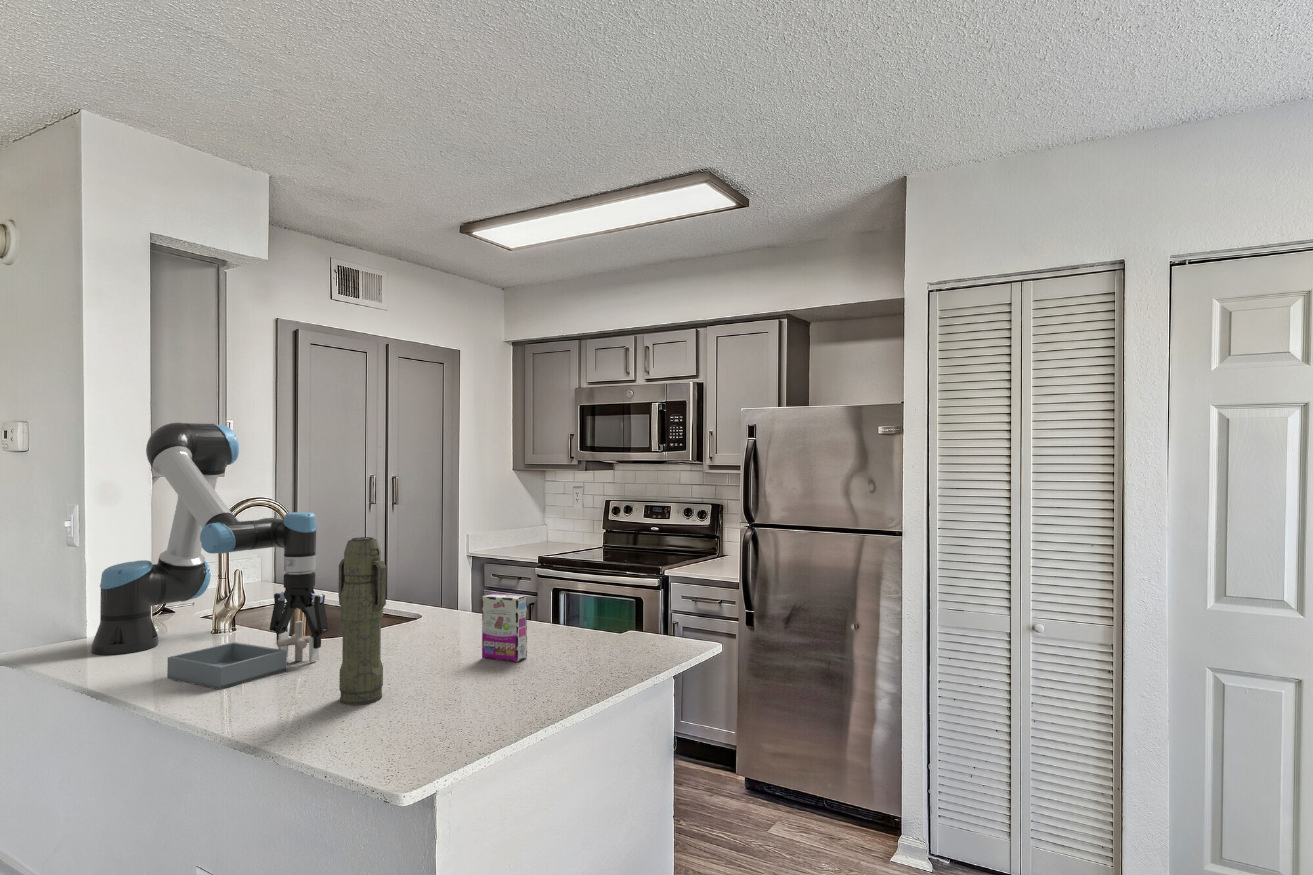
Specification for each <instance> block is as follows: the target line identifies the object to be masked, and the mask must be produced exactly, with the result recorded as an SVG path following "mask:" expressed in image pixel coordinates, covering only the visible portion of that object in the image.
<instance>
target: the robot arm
mask: <svg viewBox="0 0 1313 875" xmlns="http://www.w3.org/2000/svg"><path fill="white" fill-rule="evenodd" d="M239 445H240V443H239V440H238V438H237V434H236V433H235V432H234V430H233V429H232V428H231V427H229V426H227V425H225V424H224V425H223V424H216V423H193V422H191V423H189V422H187V423H185V422H171V423H167V424H164V425H161V426H160V427H158V428H157V429H156V430H155V431H154V432H153V433H152V434H151V435H150V436H149V438H148V441H147V444H146V449H145V453H146V457H147V461H148V463H149V465H150V466H151V468H152V469H153V471H154V472H155V473H156V474H158V475H161V476H164V477H163V478H164V479H166V481H167V482H168V483H169V485H170V486H171V488H172V489H173V490H174V492H175V493H176V494H177V501H176V505H175V511H174V513H173V514H174V515H173V520H172V524H171V528H170V529H171V530H170V533H169V539H168V542H167V543H168V544H167V547H166V550H164V551H162V552H161V553H160V554H159V556H158V559H157V560H158V561H157V563H156V564H153V563H152V561H151V560H145V559H143V560H134V561H127V562H122V563H117V564H114V565H111V566H109V567H107V568H105V569H104V570H103V571H102V573H101V578H100V584H99V588H100V611H99V612H100V619H99V625H98V627H97V630H96V632H95V635H94V637H93V641H92V644H91V653H92V652H93V653H92V654H96V655H121V654H129V653H136V652H141V651H145V650H149V649H153V648H155V647H157V646H158V645H159V635H158V632H157V630H156V628H155V624H154V621H153V619H152V607H153V606H160V605H164V604H165V605H167V604H171V603H178V602H187V601H189V600H194V599H197V598H200V597H201V596H202V595H203V594H205V592H206V591H207V589H208V587H209V586H210V583H211V572H210V571H211V568H210V565H209V564H208V562H207V561H206V558H205V556H204V554H202V550H204V551H205V552H206V553H208V554H214V555H215V554H229V553H236V552H242V551H243V552H244V551H252V550H261V549H269V548H279V549H281V548H283V556H284V557H283V571H284V572H285V573H284V574H283V588H284V591H280V592H276V593H274V594H273V600H274V602H273V603H274V605H273V608H272V614H271V620H270V624H269V631H272V632H274V633H275V634H276V641H277V640H282V639H289V635H290V634H289V632H288V629H287V628H288V626H289V624H290V622H291V619H292V616H293V614H294V612H295V610H296V609H298V610H300V611H301V612H302V613H303V614H304V617H305V620H306V622H307V625H308V627H309V630H310V632H311V635H309V636H310V637H309V643H308V646H309V649H308V650H309V651H308V662H309V663H313V662H316V661H318V660H319V659H320V658H319V657H320V648H321V647H322V635H323V634H326V633H328V632H329V624H328V620H327V619H328V618H327V613H326V606H325V600H326V598H325V597H326V595H325V594H323V593H322V594H317V593H316V592H315V590H314V588H315V585H316V572H315V570H317V569H316V568H317V566H316V565H317V564H316V562H317V559H316V557H317V555H316V551H317V550H316V549H317V548H316V546H317V529H318V528H317V518H316V517H317V516H316V514H315V513H313V512H311V511H310V512H309V511H308V512H307V511H304V512H302V511H298V512H296V511H295V512H288V513H286V514H285V515H284V518H275V517H264V518H260V519H256V520H255V519H254V520H253V519H252V520H244V521H243V520H238V519H237V518H236V516H235V515H234V514H233V513H232V511H231V510H230V509H229V507H228V506H227V505H226V504H225V502H224V501H223V499H222V498H221V496H220V495H219V494H218V493H217V492H216V486H217V482H218V481H217V480H218V478H219V477H221V476H222V475H224V474H225V472H226V468H227V466H230V465H232V464H234V463H235V462H236V461H237V459H238V457H239V453H240V446H239ZM277 649H280V650H286V651H287V658H289V646H283V647H278V646H277Z"/></svg>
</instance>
